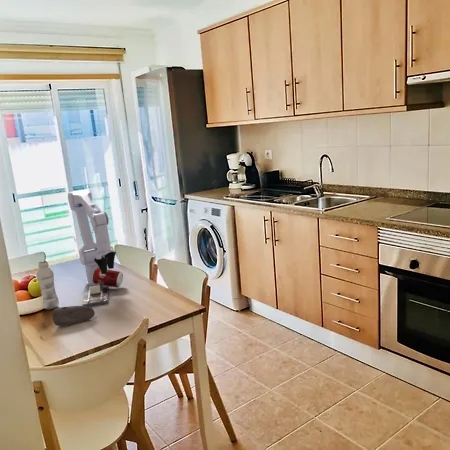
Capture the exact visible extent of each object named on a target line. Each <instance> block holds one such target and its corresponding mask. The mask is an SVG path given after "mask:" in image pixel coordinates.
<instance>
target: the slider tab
mask: <svg viewBox="0 0 450 450" xmlns="http://www.w3.org/2000/svg"><path fill="white" fill-rule="evenodd" d="M100 291H101V290H100V284H91V285H90V292H91V294H95V293H100Z"/></svg>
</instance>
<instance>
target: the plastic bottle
mask: <svg viewBox="0 0 450 450" xmlns="http://www.w3.org/2000/svg"><path fill="white" fill-rule="evenodd" d="M37 265H38V266H37V267H38V268H39V269H38V270H37V272H36V279H37V281H38V284H39V288H40V293H41V294H42V295H41V297H42V296H43V306H42V308H44V309H45V310H52V309H53V310H54V309H56V308H58V307H59V304H60V300H59V297H58V295H57V292H56V287H55V278H54V276H55V275H54V270H52V269H51V268H50V267H49V262H48V260H42V261H39V262H37Z"/></svg>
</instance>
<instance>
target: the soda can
mask: <svg viewBox="0 0 450 450" xmlns="http://www.w3.org/2000/svg"><path fill="white" fill-rule="evenodd" d="M123 280H124V273H123V272H122V271H119V270H113V269H109V268H107V274H102V273H101V270H100V268H96V269H95V270H94V272H93V276H92V281H93V283H94V284H100V285H105V286H108V287H112V288H115V289H116V288H120V287H121V286H122V284H123Z"/></svg>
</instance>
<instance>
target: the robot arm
mask: <svg viewBox="0 0 450 450" xmlns="http://www.w3.org/2000/svg"><path fill="white" fill-rule="evenodd" d="M67 200H68V204H69V208H70V210H72V211H73V212H74V213H75V215H76V219H77V222H78V227H79V231H80V234H81V239H82V243H83V245H82V246H81V247H80V248H79V250H78V251H79V252H78V253H79V260H80V263H81V264H82V265H83V266H84V268H85V275H86V285H85V286H89V285H90V284H91V285H92V284H94V283H93V281H92V276H93V272H94V270H95V269H96V268H100V270H101V273H102V274H107V269H108V270H113V269H115V268H114V267H115V258H116V255H117V252H116V251H115V249H114V247H113V245H112V246H111V240H110V235H109V228H108V225H109V222H110V221H109V215H108V213H107V212H106V211H102V210H101V208H100V207H99V206H98V205H97V204H96V203H93V194H92V191H91V190H90V189H88V188H86V189H82V190H74V191H69V192H68V193H67ZM89 219H90V220H89ZM91 227H92V229H91ZM92 231H93V232H94V236H93V235H92ZM93 237H95V241H94V238H93Z"/></svg>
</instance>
